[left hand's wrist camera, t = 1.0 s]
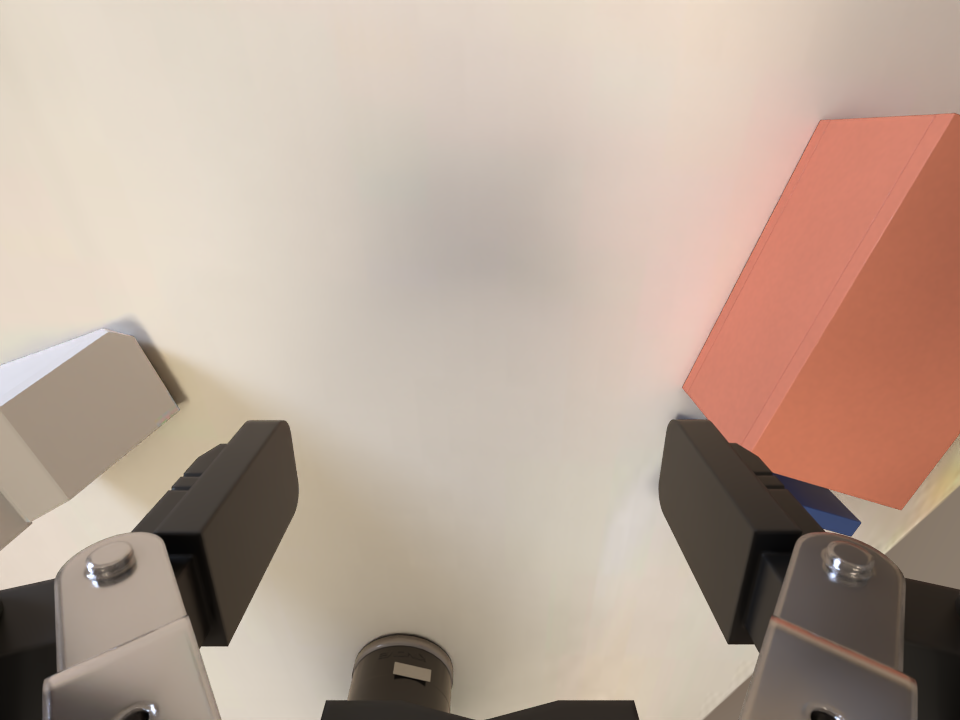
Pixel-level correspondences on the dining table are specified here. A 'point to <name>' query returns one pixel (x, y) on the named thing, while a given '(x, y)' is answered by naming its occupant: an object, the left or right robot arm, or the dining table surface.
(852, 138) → the cabinet
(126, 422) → the electronic device
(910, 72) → the dining table surface
